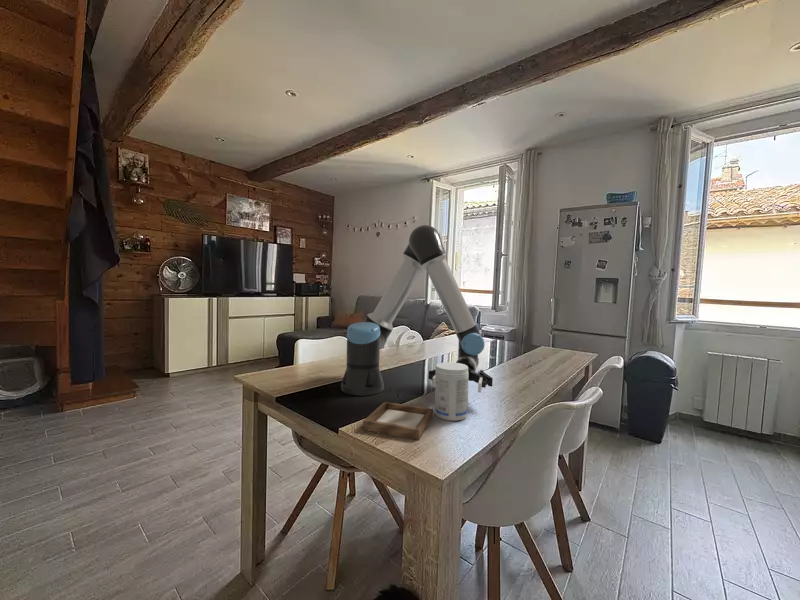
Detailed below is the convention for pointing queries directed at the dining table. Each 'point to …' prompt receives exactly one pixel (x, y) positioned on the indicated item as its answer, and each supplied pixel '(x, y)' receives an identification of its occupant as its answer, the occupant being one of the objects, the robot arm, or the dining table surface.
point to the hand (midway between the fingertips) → (456, 385)
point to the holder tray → (399, 420)
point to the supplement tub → (451, 391)
